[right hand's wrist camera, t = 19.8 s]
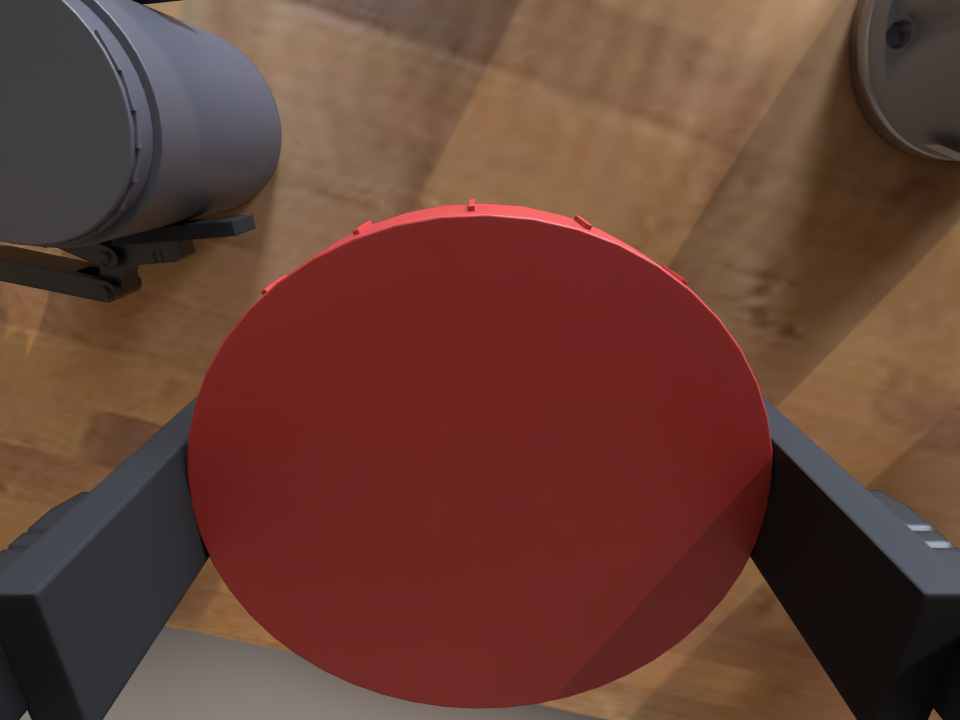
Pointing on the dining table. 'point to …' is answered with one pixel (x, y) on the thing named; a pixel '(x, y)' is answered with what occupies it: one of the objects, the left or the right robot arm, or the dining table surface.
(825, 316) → the dining table surface
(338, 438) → the lid
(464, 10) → the dining table surface
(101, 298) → the left robot arm
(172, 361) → the dining table surface
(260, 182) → the jar
